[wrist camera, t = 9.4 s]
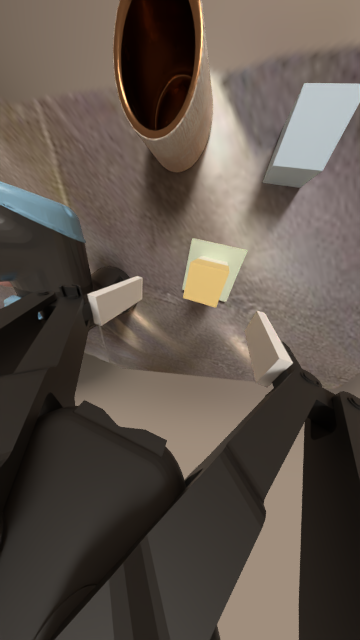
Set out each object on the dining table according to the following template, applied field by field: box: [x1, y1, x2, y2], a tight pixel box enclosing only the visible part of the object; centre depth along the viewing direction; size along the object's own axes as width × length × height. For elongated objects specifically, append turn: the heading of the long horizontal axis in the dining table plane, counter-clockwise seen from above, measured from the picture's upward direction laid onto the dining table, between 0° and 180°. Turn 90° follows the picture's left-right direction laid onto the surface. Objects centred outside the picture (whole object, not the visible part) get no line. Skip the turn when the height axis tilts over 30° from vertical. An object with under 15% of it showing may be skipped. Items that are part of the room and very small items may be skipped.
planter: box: [113, 0, 213, 172], centre depth 18 cm, size 11×11×10 cm
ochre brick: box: [183, 258, 230, 308], centre depth 23 cm, size 6×6×6 cm
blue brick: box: [262, 83, 360, 188], centre depth 17 cm, size 6×6×6 cm
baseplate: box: [182, 238, 248, 302], centre depth 28 cm, size 12×12×7 cm
